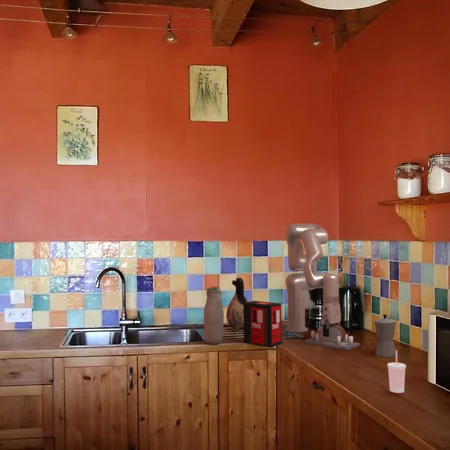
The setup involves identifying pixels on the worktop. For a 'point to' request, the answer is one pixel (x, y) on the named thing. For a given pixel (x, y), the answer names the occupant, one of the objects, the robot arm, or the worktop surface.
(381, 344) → the coffeepot
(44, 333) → the worktop surface
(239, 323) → the ceramic jug
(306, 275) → the robot arm
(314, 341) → the pin board
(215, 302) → the grey brown bottle
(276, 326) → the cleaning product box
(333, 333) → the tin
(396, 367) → the beverage cup
